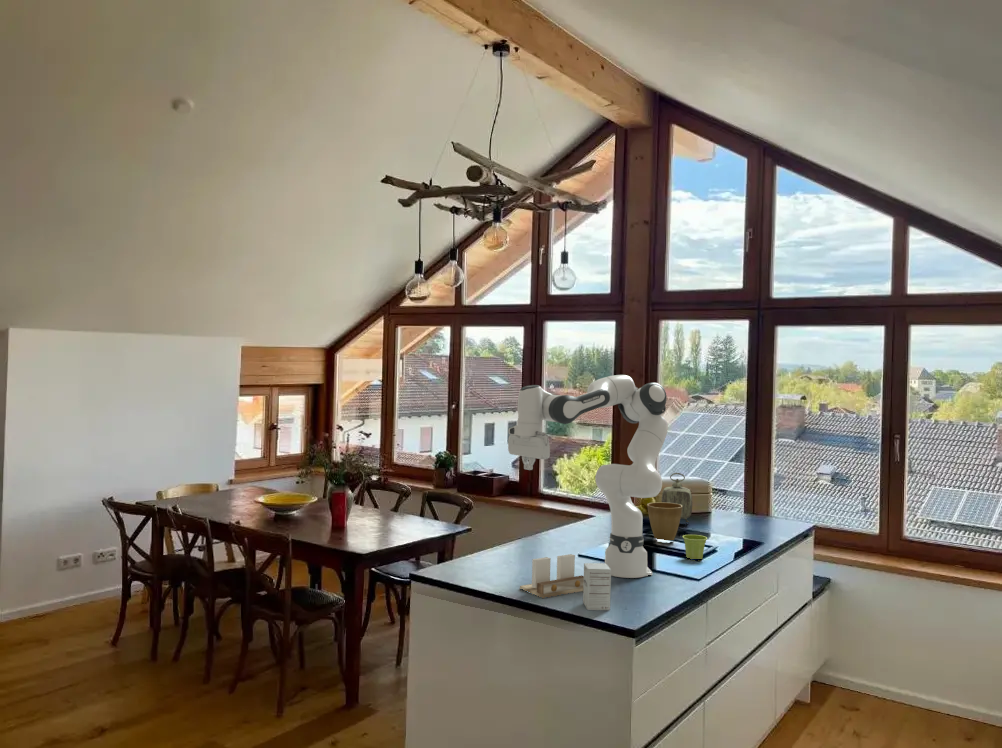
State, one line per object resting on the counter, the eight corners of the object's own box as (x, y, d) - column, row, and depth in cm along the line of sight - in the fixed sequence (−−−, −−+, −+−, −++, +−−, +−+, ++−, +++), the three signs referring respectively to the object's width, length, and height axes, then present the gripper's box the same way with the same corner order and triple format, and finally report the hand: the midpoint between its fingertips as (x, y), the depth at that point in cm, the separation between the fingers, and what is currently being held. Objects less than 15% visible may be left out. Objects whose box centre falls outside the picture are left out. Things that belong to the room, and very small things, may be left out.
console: (519, 589, 261) (520, 576, 261) (563, 581, 272) (564, 569, 272) (543, 598, 251) (543, 585, 251) (587, 590, 262) (588, 577, 262)
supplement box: (582, 603, 247) (583, 562, 247) (605, 603, 247) (606, 563, 247) (586, 610, 239) (587, 568, 239) (610, 610, 240) (611, 568, 240)
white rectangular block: (531, 586, 258) (532, 559, 258) (546, 584, 261) (546, 557, 261) (535, 588, 256) (536, 560, 256) (549, 585, 260) (550, 558, 260)
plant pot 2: (707, 562, 306) (707, 540, 306) (682, 560, 307) (682, 538, 307) (706, 557, 315) (706, 535, 315) (681, 555, 317) (682, 533, 317)
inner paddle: (556, 583, 263) (557, 556, 263) (570, 580, 267) (570, 554, 267) (560, 584, 262) (561, 557, 262) (574, 582, 265) (574, 555, 265)
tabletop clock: (691, 523, 387) (692, 472, 387) (692, 527, 378) (693, 474, 378) (661, 522, 389) (662, 471, 389) (661, 525, 381) (662, 473, 381)
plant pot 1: (658, 536, 353) (659, 500, 353) (688, 542, 343) (688, 505, 343) (639, 541, 342) (640, 504, 342) (669, 547, 332) (670, 509, 332)
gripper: (554, 432, 275) (553, 472, 275) (519, 428, 292) (518, 466, 292) (540, 433, 271) (539, 473, 271) (505, 428, 288) (504, 466, 288)
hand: (528, 469), depth 282 cm, fingers closed
